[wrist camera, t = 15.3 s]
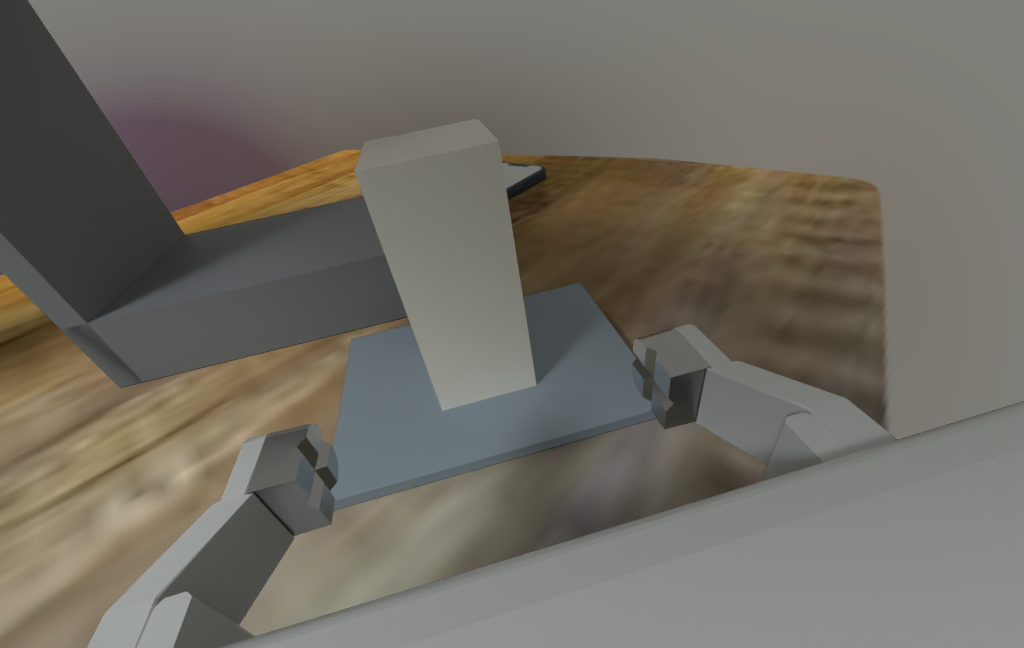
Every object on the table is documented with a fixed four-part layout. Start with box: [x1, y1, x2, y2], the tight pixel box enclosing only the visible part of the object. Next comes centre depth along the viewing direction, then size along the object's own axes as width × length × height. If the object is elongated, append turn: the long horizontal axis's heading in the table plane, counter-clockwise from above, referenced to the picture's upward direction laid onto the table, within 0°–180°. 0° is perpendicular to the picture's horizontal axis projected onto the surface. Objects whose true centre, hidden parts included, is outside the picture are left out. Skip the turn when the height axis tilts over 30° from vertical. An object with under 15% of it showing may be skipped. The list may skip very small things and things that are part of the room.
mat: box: [330, 283, 656, 510], centre depth 23 cm, size 16×12×1 cm
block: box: [354, 119, 537, 411], centre depth 19 cm, size 5×5×12 cm
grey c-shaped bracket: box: [0, 0, 408, 388], centre depth 26 cm, size 26×14×28 cm, turn 103°
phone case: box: [502, 162, 546, 199], centre depth 48 cm, size 9×2×16 cm
